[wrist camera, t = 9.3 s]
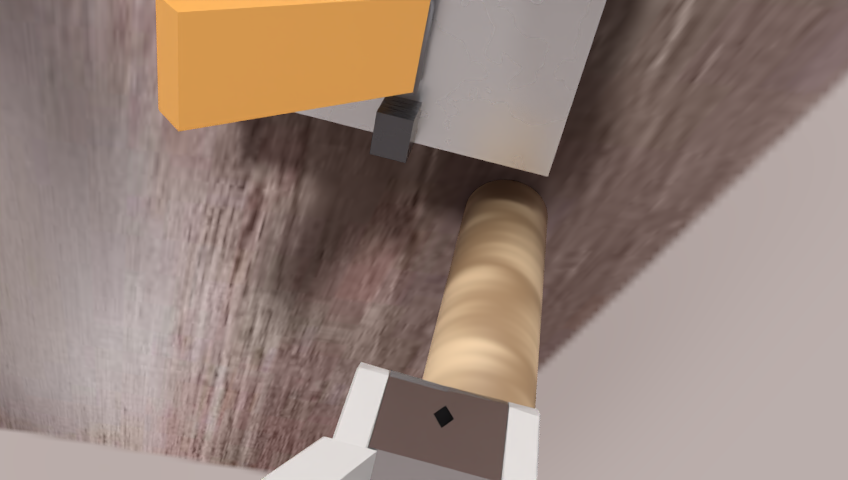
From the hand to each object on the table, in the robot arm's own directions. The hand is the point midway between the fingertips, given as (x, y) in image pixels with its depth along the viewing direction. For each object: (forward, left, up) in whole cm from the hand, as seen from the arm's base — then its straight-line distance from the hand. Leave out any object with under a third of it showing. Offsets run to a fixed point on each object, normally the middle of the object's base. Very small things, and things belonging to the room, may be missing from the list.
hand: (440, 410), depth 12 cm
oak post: (+2, -11, -25) cm, 27 cm away
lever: (-4, -1, -20) cm, 21 cm away
